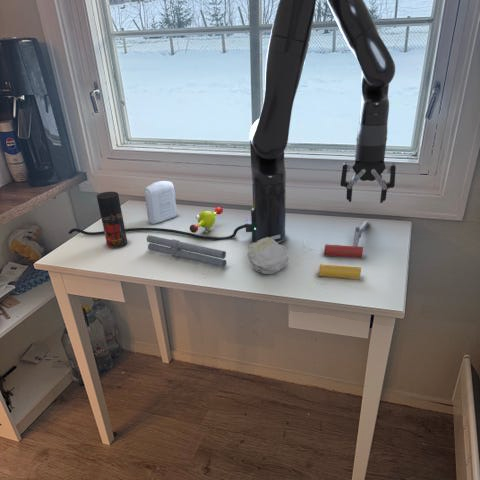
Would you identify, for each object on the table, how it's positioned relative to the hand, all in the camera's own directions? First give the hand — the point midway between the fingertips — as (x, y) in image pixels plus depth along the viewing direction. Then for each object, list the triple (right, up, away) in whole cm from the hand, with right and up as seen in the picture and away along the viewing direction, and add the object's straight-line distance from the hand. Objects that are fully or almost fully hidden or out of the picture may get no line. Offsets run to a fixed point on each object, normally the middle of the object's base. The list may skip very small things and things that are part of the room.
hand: (365, 201), depth 131 cm
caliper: (0, -9, +6) cm, 11 cm away
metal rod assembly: (-50, -16, -1) cm, 53 cm away
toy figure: (-45, -6, +14) cm, 48 cm away
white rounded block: (-61, 0, +24) cm, 65 cm away
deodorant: (-72, -11, +9) cm, 73 cm away
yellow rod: (-10, -22, -14) cm, 28 cm away
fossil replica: (-27, -20, -9) cm, 35 cm away
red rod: (-7, -16, -4) cm, 18 cm away
